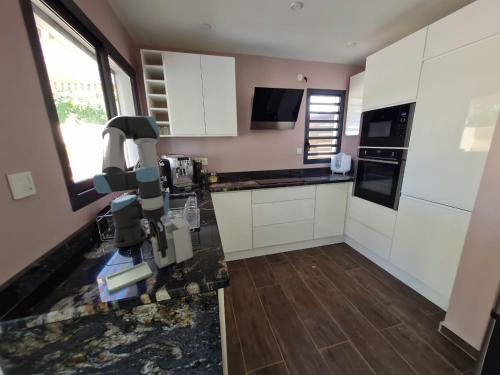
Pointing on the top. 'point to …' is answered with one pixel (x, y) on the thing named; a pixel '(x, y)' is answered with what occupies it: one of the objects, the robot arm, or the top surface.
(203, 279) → the top surface
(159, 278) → the top surface
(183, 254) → the printer bay
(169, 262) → the upright pale grey block
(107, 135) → the robot arm
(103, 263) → the top surface
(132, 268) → the tray
